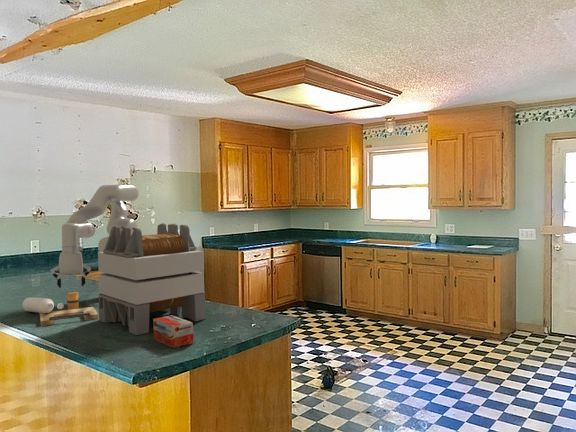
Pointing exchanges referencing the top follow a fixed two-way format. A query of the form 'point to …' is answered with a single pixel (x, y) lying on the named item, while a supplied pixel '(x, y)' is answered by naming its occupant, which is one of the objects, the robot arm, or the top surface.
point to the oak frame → (68, 315)
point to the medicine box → (173, 331)
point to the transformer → (150, 276)
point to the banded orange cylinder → (73, 300)
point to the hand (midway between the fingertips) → (71, 286)
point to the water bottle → (39, 305)
